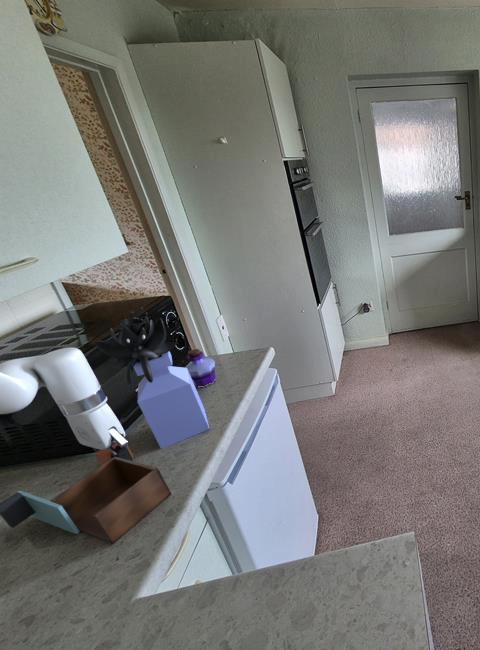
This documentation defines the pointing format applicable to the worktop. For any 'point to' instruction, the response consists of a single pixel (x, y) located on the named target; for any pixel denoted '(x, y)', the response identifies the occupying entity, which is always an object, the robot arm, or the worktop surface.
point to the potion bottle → (200, 368)
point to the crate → (113, 498)
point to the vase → (157, 380)
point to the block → (107, 454)
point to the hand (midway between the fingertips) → (118, 461)
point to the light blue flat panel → (35, 511)
